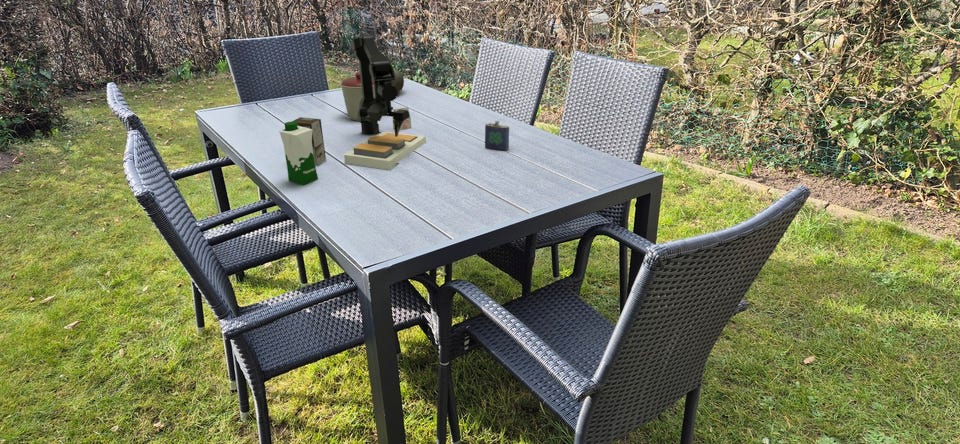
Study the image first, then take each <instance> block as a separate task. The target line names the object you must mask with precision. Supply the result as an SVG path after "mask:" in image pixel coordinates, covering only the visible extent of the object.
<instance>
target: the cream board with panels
mask: <svg viewBox="0 0 960 444" xmlns="http://www.w3.org/2000/svg"><path fill="white" fill-rule="evenodd" d="M387 133H394V134H395V132H392V131H382V132H380V133H378V134H376V135H377V136H383V135H385V134H387ZM398 134H402V135H410V136H417V138H416V139H415V140H413V141H412V142H406V141H405V146H404V147H402V148H401V149H399V150H394V149H392V151H393V154H392V155H390V156H389V157H387V158H386V159H384V158H377V157H370V156H362V155H355V154H354V149H351V150H350V151H348V152H346V153H345V154H343V158H344V164H346V165H353V166H360V167H367V168H372V169H373V168H375V169H381V170H389V171H391V170H393V169H394V168H395V167H396V166H398V165H400V162H399V161H401V160H403V159H404V158H405V157H407V156H409V155H410V154H411V153H412V152H414V151H416V150H417V149H418V148H420V147H421V146H423V145H424V144H426V143H427V138H426V136H424V135H416V134H408V133H400V132H399V133H398ZM364 143H366V144H368V141H365V142H364Z"/></svg>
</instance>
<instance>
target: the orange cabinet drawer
mask: <svg viewBox="0 0 960 444" xmlns="http://www.w3.org/2000/svg"><path fill="white" fill-rule="evenodd" d="M394 133H395V132H393V133H387V134H385V135H383V136H385V137H393V138H401V139H405V141H406V142H412V141H413V140H415V139H416V138H417V136H418V135H417V136H410V135H411V134H409V135H402V134H403V133H401V134H398V136H397V137H395V134H394Z"/></svg>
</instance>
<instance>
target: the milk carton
mask: <svg viewBox="0 0 960 444" xmlns="http://www.w3.org/2000/svg"><path fill="white" fill-rule="evenodd" d="M312 131H313V129H309V128H306V127H301V126H297V122H292V121H286V122H284V129H281V130H279V135H280V138H281V141H282V144H283V150H284V156H285V162H286V168H287V175H288V176H287V177H288V178H287V179H288V182H291V183H295V184H297V185H300V186H304V185H306V184H309V183H312V182H314V181H317V180H318V179H319V177H318V173H317V169H316V167H317V166H315V162H314V155H313V147H312Z"/></svg>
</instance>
